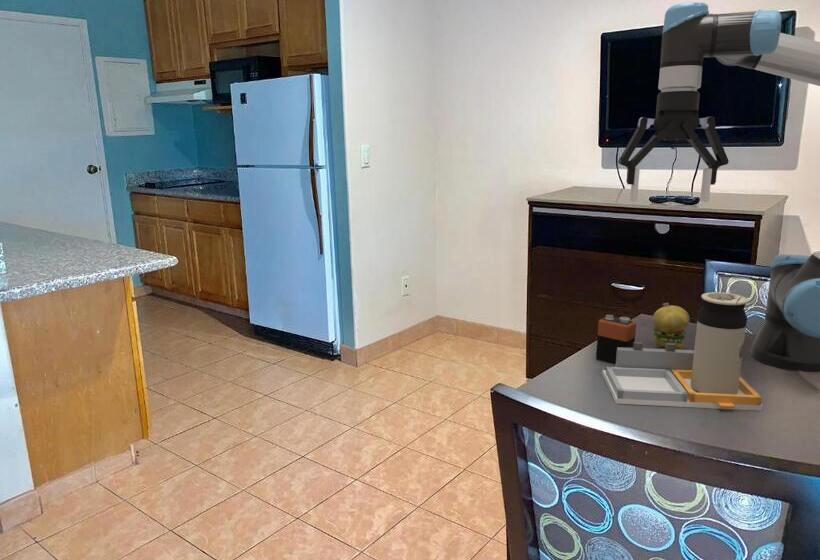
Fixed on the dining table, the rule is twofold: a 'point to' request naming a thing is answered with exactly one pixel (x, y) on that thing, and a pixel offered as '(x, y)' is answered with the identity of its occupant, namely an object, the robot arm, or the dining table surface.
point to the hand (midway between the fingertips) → (668, 201)
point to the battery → (614, 337)
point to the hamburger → (670, 326)
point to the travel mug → (719, 343)
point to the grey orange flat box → (668, 381)
